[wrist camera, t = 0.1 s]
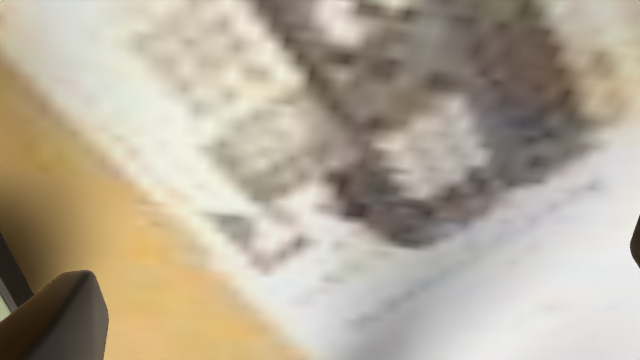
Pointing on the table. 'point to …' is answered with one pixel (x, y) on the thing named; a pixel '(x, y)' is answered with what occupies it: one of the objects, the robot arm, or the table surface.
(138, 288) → the table surface
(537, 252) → the table surface
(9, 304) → the calculator
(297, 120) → the table surface
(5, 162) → the table surface
